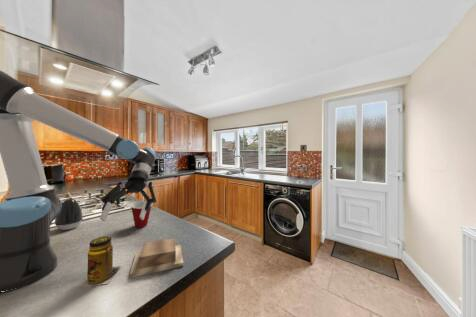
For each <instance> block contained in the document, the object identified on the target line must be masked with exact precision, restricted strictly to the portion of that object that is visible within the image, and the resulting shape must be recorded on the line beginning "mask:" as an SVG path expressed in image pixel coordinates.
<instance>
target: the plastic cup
mask: <svg viewBox="0 0 476 317" xmlns="http://www.w3.org/2000/svg"><path fill="white" fill-rule="evenodd" d="M144 202H145V201H137V202H133V203H131V204H130V205H129V207H130V208H131V212H132V219H133V222H134V227H135V228H138V227H141V228H145V227H147V226H148V223H149V222H148V221H149V218H150V214H151V213H150V212H151V209H152V207H153V204H154V203H151V205H150V209H149V211H146V214H145V217H144V220H141V218H140V214H141V211H142V208H143V205H144ZM146 225H147V226H146ZM144 226H145V227H144Z"/></svg>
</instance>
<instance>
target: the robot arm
mask: <svg viewBox="0 0 476 317" xmlns="http://www.w3.org/2000/svg"><path fill="white" fill-rule="evenodd" d="M33 121H37V122H39V123H41V124H43V125H46V126H49V127H51V128H52V129H55V130H58V131H60V132H62V133H64V134H67V135H69V136H72V137H74V138H76V139H79V140H80V141H83V142H85V143H88V144H89V145H92V146H95V147H97V148H99V149H101V150H104V151H105V152H106V151H107V152H108V153H110V154H111V155H114V156H115V157H117V158H120V159H123V160H124V161H125V160H126V161H128V162H131V163H133V164H134V166H133V168H132V169H131V172H130V174H129V176H128V178H127V181H126V182H125V183H124V182H122V181H119V182H117V184H116V185H115V187H113V188H112V189H111V190H110V191H108V192H107V193H106V194H105V195H103V197H101V199H100V201H101V202H102V203H103V206H102V208H101V211H102V212H101V214H100V216H99V219H100V220H101V221H103V222H106V220H107V218H108V216H109V213H110V212H111V209H112V207H113V204H114V203H115V202H117V201H118V200H119V199H121V198H123V197H125V195H128V194H138V193H140V194H141V195H142V196H143V198H144V199H145V201H143V202H144V205H143V208H142V211H141V214H140V218H141V220H144V217H145V214H146V211H149V209H150V205H151V203H153V204H154V203H155V204H156V203H157V198H156V195H155V191H154V183H153V181H149V182H148V180H149V177H150V174H151V171H152V169H153V166H154V163H155V161H156V158H157V153H156V151H155V150H154V149H153V148H151V147H143V148H140V147H139V145H138V143H137V142H136V141H134V140H131V139H128V138H125V137H123V136H121V135H119V134H118V133H116V132H113V131H111V129H110V130H109V128H108V129H107V128H106V127H103V125H100V124H99V123H98V124H97V123H95V122H94V121H91V120H89V119H87V118H86V117H83V116H81V115H79V114H77V113H75V112H73V111H71V110H70V109H67V108H65V107H63V106H61V105H59V104H57V103H56V102H53V101H52V100H49V99H47V98H45V97H43V96H41V95H39V94H37V93H36V92H35V91H34V89H33V87H30V86H29V85H27V84H24V82H21V81H19V80H18V79H16V78H14V77H12V76H11V75H9V74H8V73H6V72H4V71H2V70H0V157H1V161H2V165H3V168H4V170H5V175H6V179H7V181H8V185H9V188H10V191H9V193H8V195H6V196H5V197H4V198H5V201H0V292H1V291H6V290H10V291H12V290H11V289H14V290H16V289H15V288H17V289H20V288H22V286H23V287H25V286H27V285H30V284H32V283H34V282H37V281H39V280H42V278H44V277H46V276H48V275H49V274H51V273H52V272H53V271H54V270H55V269H56V268H57V266H58V257H57V255H56V253H55V251H54V249H53V247H52V246H51V243H50V242H51V224H52V223H53V222H54V221H55V218H56V217H57V216H58V215H59V213H60V211H61V208H62V203H63V202H62V201H61V199H60V198H59V197H58V196H57V193H56V189H55V187H54V186H52V185H50V184H48V182H47V178H46V174H45V169H44V166H43V162H42V159H41V155H40V151H39V150H40V149H39V147H38V143H37V139H36V137H35V132H34V129H33V126H32V125H33V124H32V122H33ZM146 187H147V188H148V190H149V193H150V197H151V198H150V197H149V195H148V194H147V193H146V191H145V190H144V189H145V188H146ZM61 202H62V203H61ZM19 287H20V288H19Z"/></svg>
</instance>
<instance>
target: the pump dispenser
mask: <svg viewBox="0 0 476 317" xmlns="http://www.w3.org/2000/svg"><path fill="white" fill-rule="evenodd" d="M78 202H79V201H77V200H76V199H74V198H67V199H65V200H64V201H63V202H62V201H61V203H62V208H61V211H60V213H59V215H58V216H57V217H56V218H55V219H54V225H55V226H56V229H57V230H59V231H70V230H73V229H76V228H77V227H79V226H80V225H81V222H82V220H83V218H84V216H83V211H82V208H81V206H80V204H79V203H78Z"/></svg>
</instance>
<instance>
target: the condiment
mask: <svg viewBox="0 0 476 317" xmlns="http://www.w3.org/2000/svg"><path fill="white" fill-rule="evenodd" d="M88 249H89V250H88V251H87V265H86V266H87V269H86V270H87V274H86V275H87V276H86V278H87V279H86V280H85V281H84V282H83V283H81V285H80V286H79V288H83V287H95V286H102V285H108V284H109V283H110V282H111V281H112V280H113V279H114V277H115V275H116V274H117V273H118V271H119V270H120V269H121V267H122V265H117V266H116V265H115V266H113V262H114V261H113V259H114V257H113V256H114V254H113V252H114V251H113V250H114V247H113V244H112V237H111V236H108V235H107V236H106V235H105V236H99V237H96V238H94V239H92V240H91V241H90V242H89V248H88Z"/></svg>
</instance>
